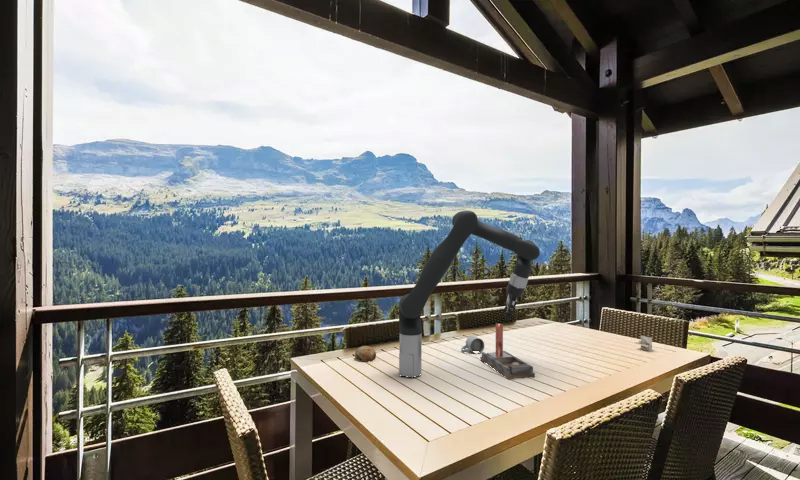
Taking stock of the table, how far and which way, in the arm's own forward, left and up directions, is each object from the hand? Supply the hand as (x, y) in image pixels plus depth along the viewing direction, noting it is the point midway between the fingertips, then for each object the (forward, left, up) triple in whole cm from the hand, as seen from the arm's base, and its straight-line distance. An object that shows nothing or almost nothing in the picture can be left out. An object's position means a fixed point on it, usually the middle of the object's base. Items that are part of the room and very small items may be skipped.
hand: (506, 314), depth 180 cm
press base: (-9, -1, -22) cm, 23 cm away
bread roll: (-25, +61, -22) cm, 69 cm away
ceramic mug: (+9, +19, -22) cm, 30 cm away
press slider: (-4, +2, -20) cm, 21 cm away
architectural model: (+51, -59, -22) cm, 82 cm away
